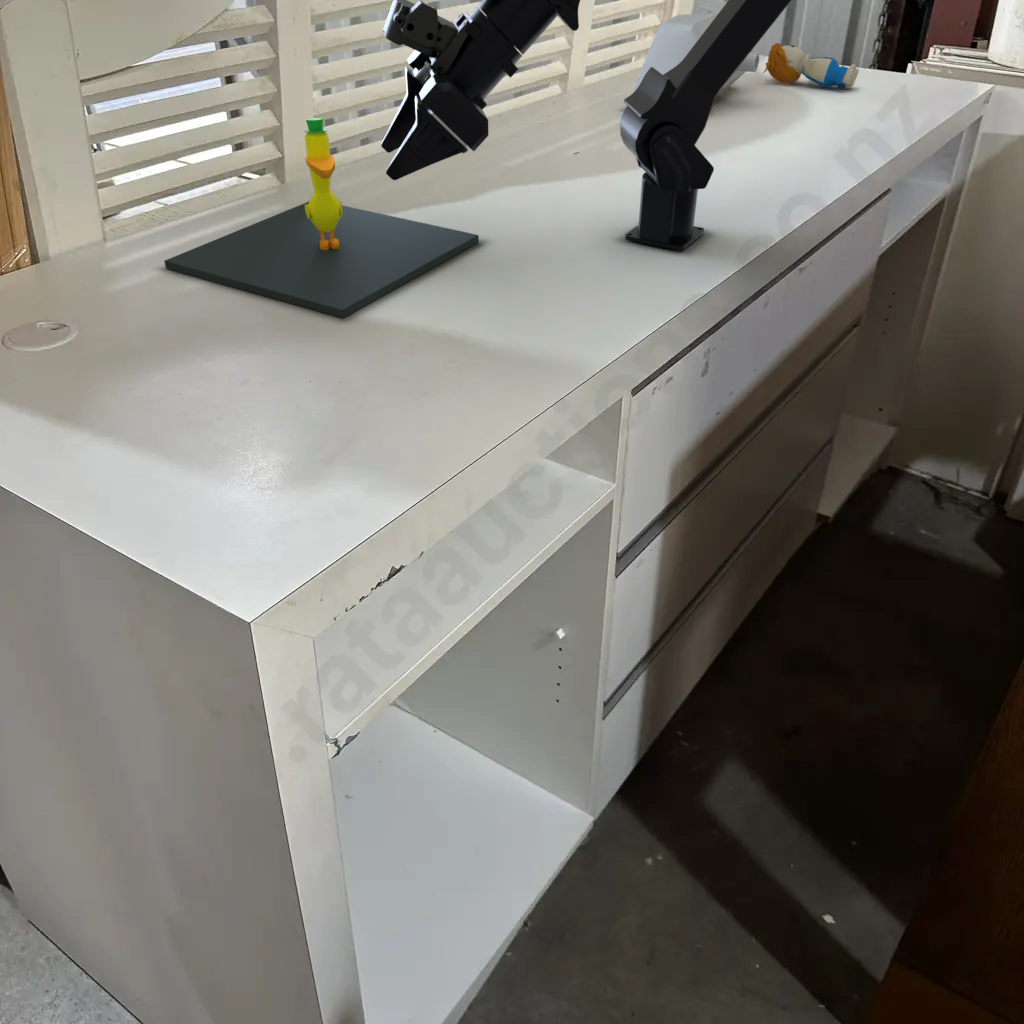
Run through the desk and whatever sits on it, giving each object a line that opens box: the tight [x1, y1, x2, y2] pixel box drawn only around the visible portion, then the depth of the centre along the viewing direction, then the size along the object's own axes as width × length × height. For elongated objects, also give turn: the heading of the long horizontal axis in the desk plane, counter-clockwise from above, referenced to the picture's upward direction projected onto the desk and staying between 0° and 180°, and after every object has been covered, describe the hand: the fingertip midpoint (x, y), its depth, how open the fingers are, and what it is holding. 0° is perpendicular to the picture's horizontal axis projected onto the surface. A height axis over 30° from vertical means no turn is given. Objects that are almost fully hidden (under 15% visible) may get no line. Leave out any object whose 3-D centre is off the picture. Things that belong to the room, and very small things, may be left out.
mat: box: [164, 201, 480, 319], centre depth 95 cm, size 22×22×1 cm
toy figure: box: [304, 117, 343, 250], centre depth 92 cm, size 7×4×12 cm, turn 19°
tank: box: [630, 0, 760, 96], centre depth 147 cm, size 25×16×12 cm, turn 153°
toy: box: [762, 42, 860, 89], centre depth 158 cm, size 12×6×15 cm
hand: (386, 162), depth 91 cm, fingers open, 9 cm apart
